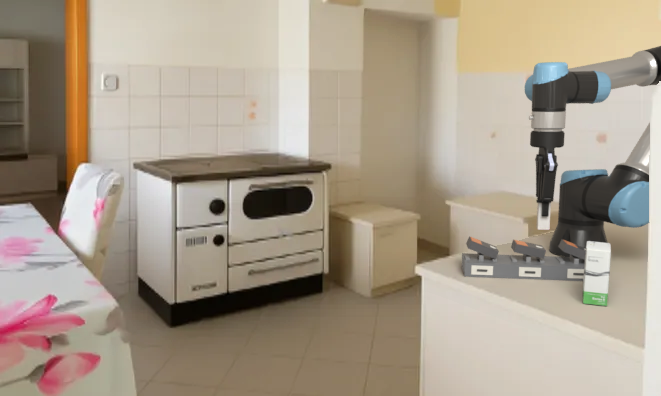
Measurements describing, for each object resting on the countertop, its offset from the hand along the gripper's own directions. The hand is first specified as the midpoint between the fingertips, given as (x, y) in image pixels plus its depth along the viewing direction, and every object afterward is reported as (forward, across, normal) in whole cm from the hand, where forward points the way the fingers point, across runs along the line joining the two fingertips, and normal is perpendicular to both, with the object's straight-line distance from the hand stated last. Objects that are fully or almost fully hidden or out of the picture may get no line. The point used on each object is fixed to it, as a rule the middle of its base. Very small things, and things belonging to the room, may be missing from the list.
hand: (542, 228), depth 150 cm
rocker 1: (+6, 0, -14) cm, 16 cm away
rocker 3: (+6, 0, +8) cm, 10 cm away
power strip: (+11, 0, -4) cm, 12 cm away
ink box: (+11, +18, +7) cm, 23 cm away
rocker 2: (+6, 0, -4) cm, 7 cm away
